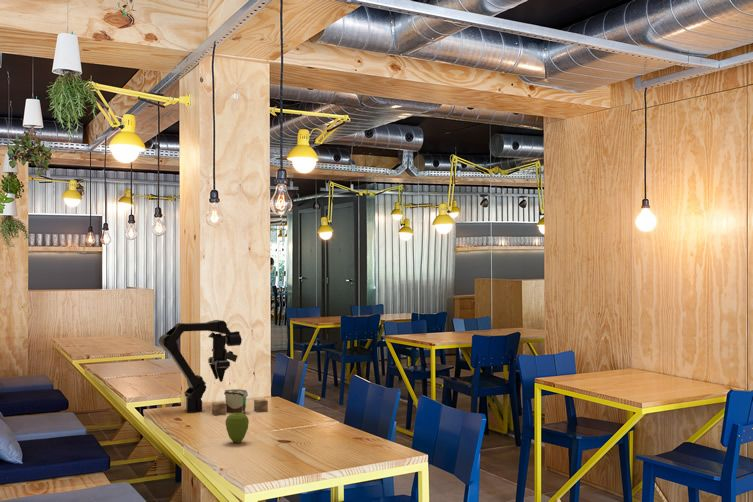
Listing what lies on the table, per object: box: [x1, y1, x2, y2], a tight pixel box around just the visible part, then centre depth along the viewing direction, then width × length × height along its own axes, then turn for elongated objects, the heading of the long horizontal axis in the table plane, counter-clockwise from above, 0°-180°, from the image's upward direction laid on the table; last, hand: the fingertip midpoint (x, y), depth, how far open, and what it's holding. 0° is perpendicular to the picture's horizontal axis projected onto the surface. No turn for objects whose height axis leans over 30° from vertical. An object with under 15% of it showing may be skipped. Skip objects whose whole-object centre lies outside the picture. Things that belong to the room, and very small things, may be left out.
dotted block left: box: [211, 401, 227, 417], centre depth 321 cm, size 5×5×5 cm
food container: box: [223, 388, 249, 415], centre depth 325 cm, size 12×6×10 cm, turn 58°
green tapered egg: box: [225, 412, 250, 444], centre depth 268 cm, size 9×8×12 cm
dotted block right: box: [253, 398, 269, 413], centre depth 328 cm, size 5×5×5 cm
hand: (218, 380), depth 335 cm, fingers open, 9 cm apart
